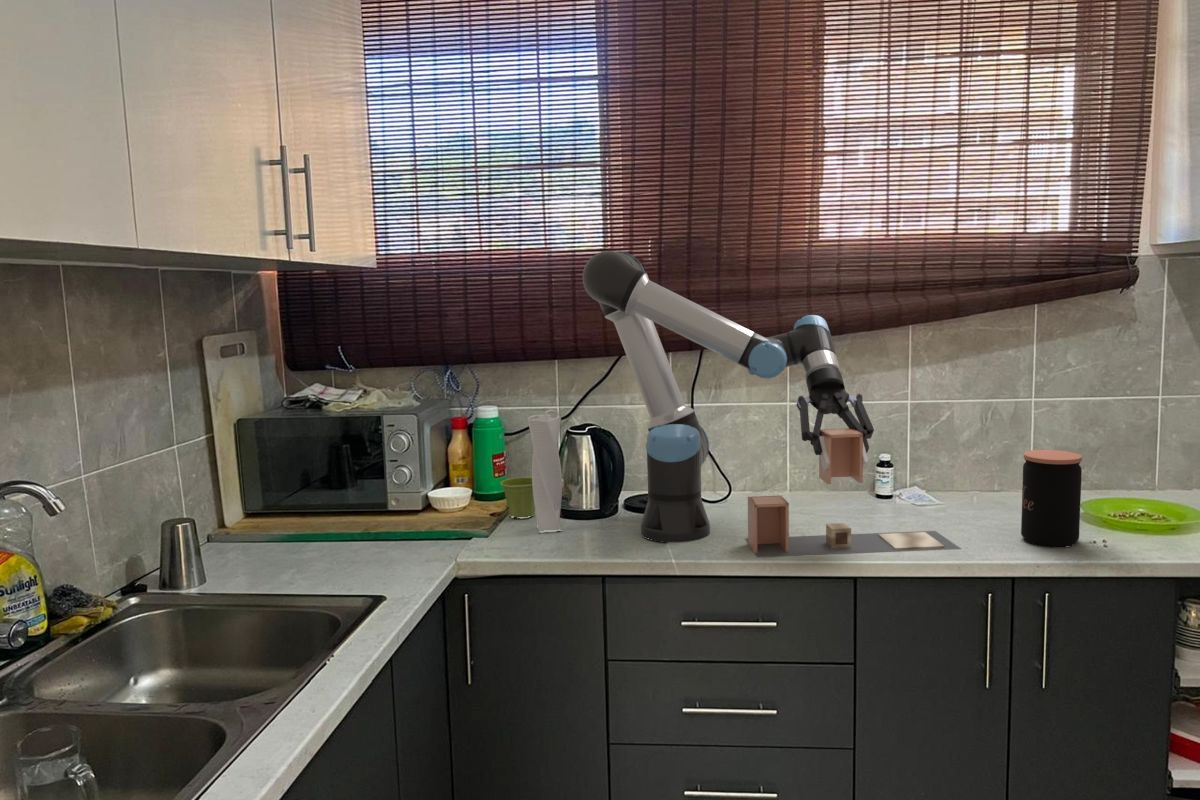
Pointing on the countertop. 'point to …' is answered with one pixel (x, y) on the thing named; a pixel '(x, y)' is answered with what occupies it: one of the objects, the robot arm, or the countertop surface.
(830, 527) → the letter cube
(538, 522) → the skyscraper
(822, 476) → the cover
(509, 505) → the plant pot
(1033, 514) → the coffee jar
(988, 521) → the countertop surface
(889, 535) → the coaster
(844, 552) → the mat
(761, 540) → the cover
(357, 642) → the countertop surface
